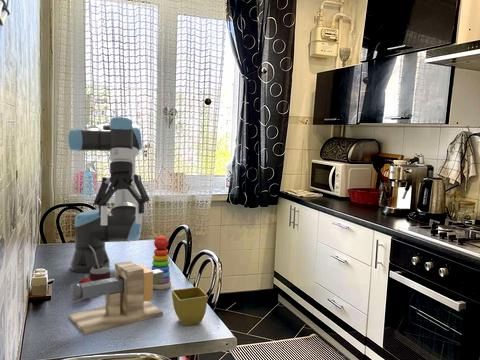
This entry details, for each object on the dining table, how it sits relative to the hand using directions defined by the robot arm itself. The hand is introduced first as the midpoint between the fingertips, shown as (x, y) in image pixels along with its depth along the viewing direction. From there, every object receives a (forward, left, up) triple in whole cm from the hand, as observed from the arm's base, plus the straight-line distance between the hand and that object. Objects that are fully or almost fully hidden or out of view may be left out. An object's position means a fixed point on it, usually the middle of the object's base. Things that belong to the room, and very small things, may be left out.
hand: (121, 224), depth 150 cm
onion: (-5, -11, -25) cm, 28 cm away
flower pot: (+30, +8, -25) cm, 40 cm away
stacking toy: (-2, +15, -25) cm, 29 cm away
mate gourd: (-12, -4, -25) cm, 28 cm away
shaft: (+14, -7, -17) cm, 24 cm away
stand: (+14, -8, -25) cm, 30 cm away
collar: (+14, +1, -16) cm, 22 cm away
